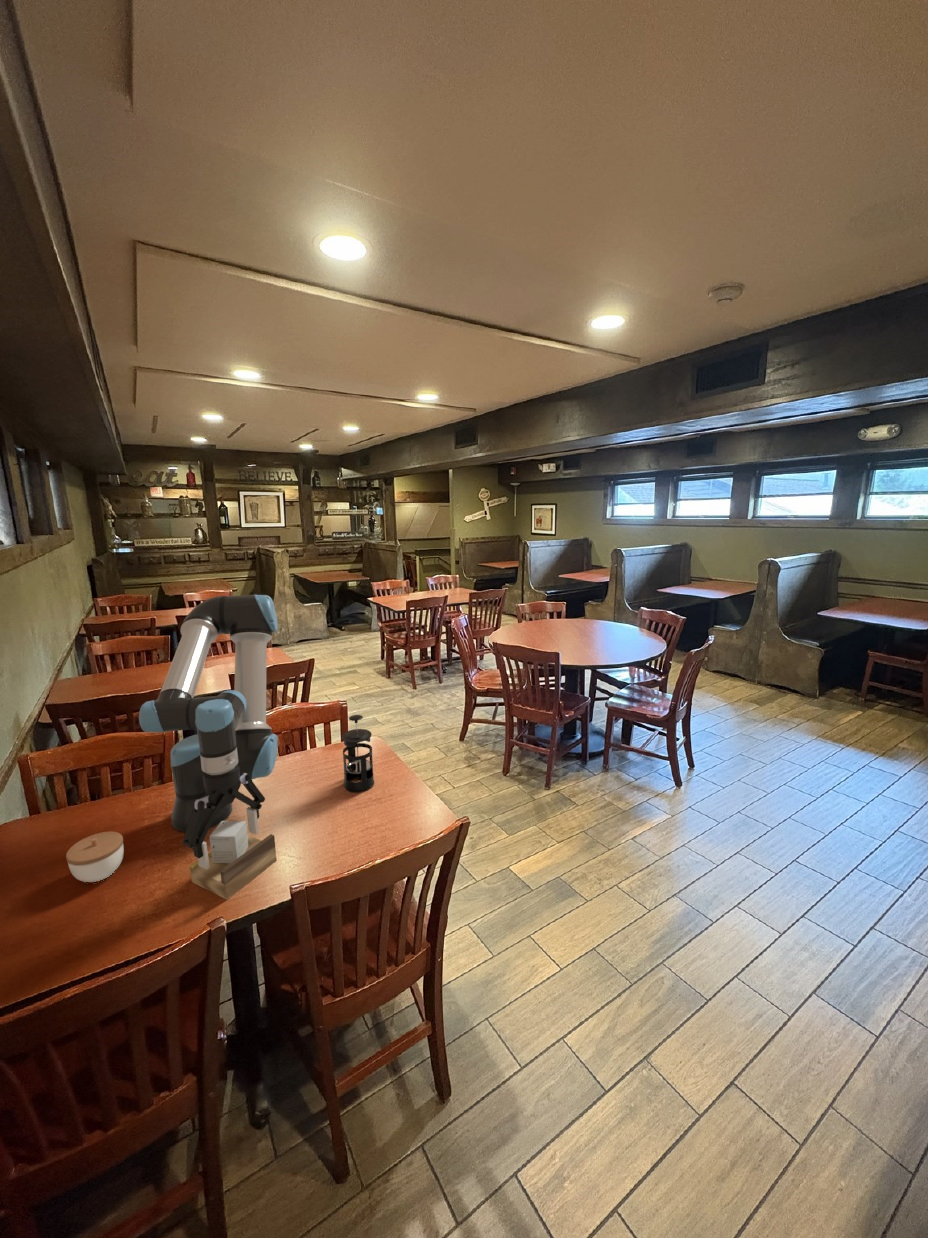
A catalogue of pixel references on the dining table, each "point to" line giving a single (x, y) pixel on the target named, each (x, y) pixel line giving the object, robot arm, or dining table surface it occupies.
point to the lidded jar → (96, 856)
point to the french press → (357, 759)
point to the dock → (236, 868)
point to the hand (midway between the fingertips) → (230, 849)
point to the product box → (228, 841)
